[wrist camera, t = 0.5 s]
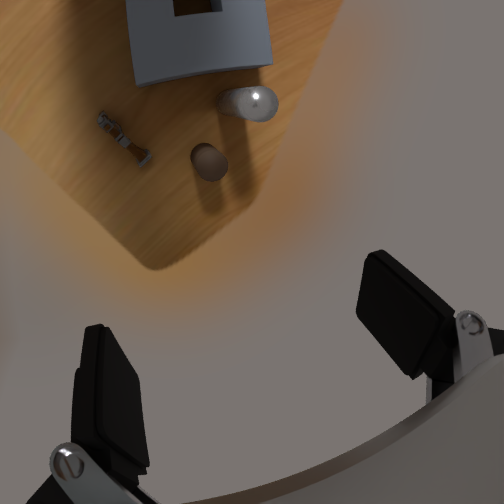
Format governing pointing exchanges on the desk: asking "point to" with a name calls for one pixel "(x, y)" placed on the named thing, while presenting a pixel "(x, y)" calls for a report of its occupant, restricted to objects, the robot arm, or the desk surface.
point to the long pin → (248, 103)
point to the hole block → (196, 39)
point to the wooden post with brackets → (123, 139)
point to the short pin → (209, 162)
